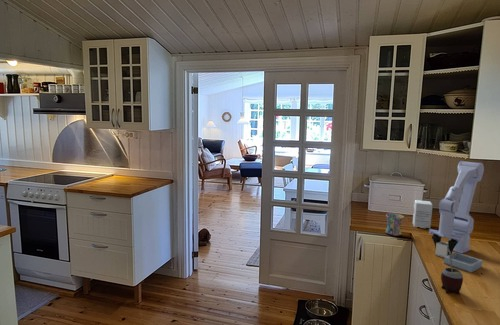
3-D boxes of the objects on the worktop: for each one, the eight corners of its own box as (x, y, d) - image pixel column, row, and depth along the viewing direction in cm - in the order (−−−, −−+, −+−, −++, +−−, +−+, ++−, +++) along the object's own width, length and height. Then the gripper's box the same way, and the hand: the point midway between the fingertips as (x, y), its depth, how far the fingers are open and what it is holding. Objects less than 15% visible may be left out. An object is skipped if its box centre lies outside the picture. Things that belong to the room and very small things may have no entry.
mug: (384, 230, 198) (386, 212, 196) (402, 233, 194) (404, 214, 192) (383, 236, 187) (384, 217, 186) (401, 239, 183) (403, 220, 182)
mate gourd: (456, 297, 124) (460, 258, 122) (433, 288, 130) (437, 250, 128) (465, 292, 128) (469, 253, 126) (443, 283, 134) (447, 246, 132)
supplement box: (412, 223, 214) (414, 199, 212) (428, 224, 211) (430, 201, 209) (413, 227, 205) (416, 202, 203) (430, 229, 202) (432, 204, 200)
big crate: (455, 258, 160) (455, 252, 159) (481, 266, 151) (482, 260, 151) (443, 263, 153) (444, 257, 153) (470, 272, 145) (471, 266, 144)
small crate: (440, 252, 166) (441, 240, 165) (451, 256, 162) (452, 244, 161) (435, 255, 163) (436, 242, 162) (446, 258, 159) (447, 246, 158)
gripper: (426, 221, 164) (423, 249, 165) (459, 230, 152) (455, 259, 154) (433, 219, 168) (431, 246, 170) (466, 227, 156) (462, 256, 158)
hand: (443, 252), depth 162 cm, fingers closed on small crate, 5 cm apart
